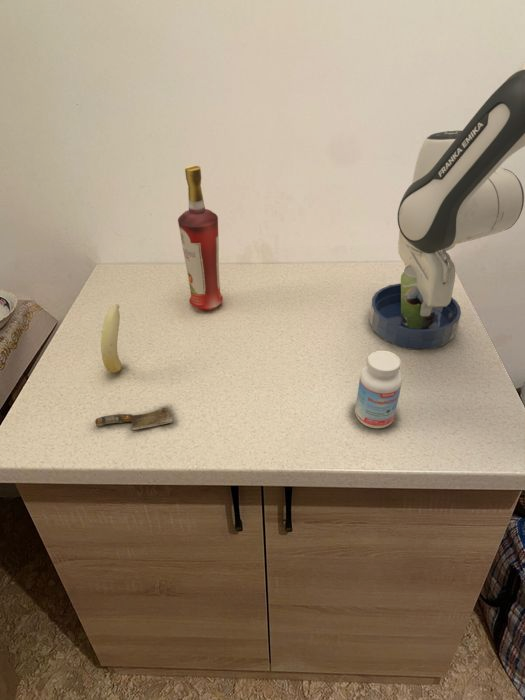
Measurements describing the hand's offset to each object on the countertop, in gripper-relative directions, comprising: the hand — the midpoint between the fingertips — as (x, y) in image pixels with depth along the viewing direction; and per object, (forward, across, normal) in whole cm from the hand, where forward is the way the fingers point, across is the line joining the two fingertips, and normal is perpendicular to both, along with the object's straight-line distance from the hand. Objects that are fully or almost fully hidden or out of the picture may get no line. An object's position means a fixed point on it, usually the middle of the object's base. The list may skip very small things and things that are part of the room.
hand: (416, 300), depth 94 cm
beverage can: (+5, 0, 0) cm, 5 cm away
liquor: (+6, +10, +40) cm, 42 cm away
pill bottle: (+6, -24, +12) cm, 27 cm away
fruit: (+6, -10, +54) cm, 56 cm away
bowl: (+6, 0, 0) cm, 6 cm away
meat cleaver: (+6, -22, +50) cm, 55 cm away
